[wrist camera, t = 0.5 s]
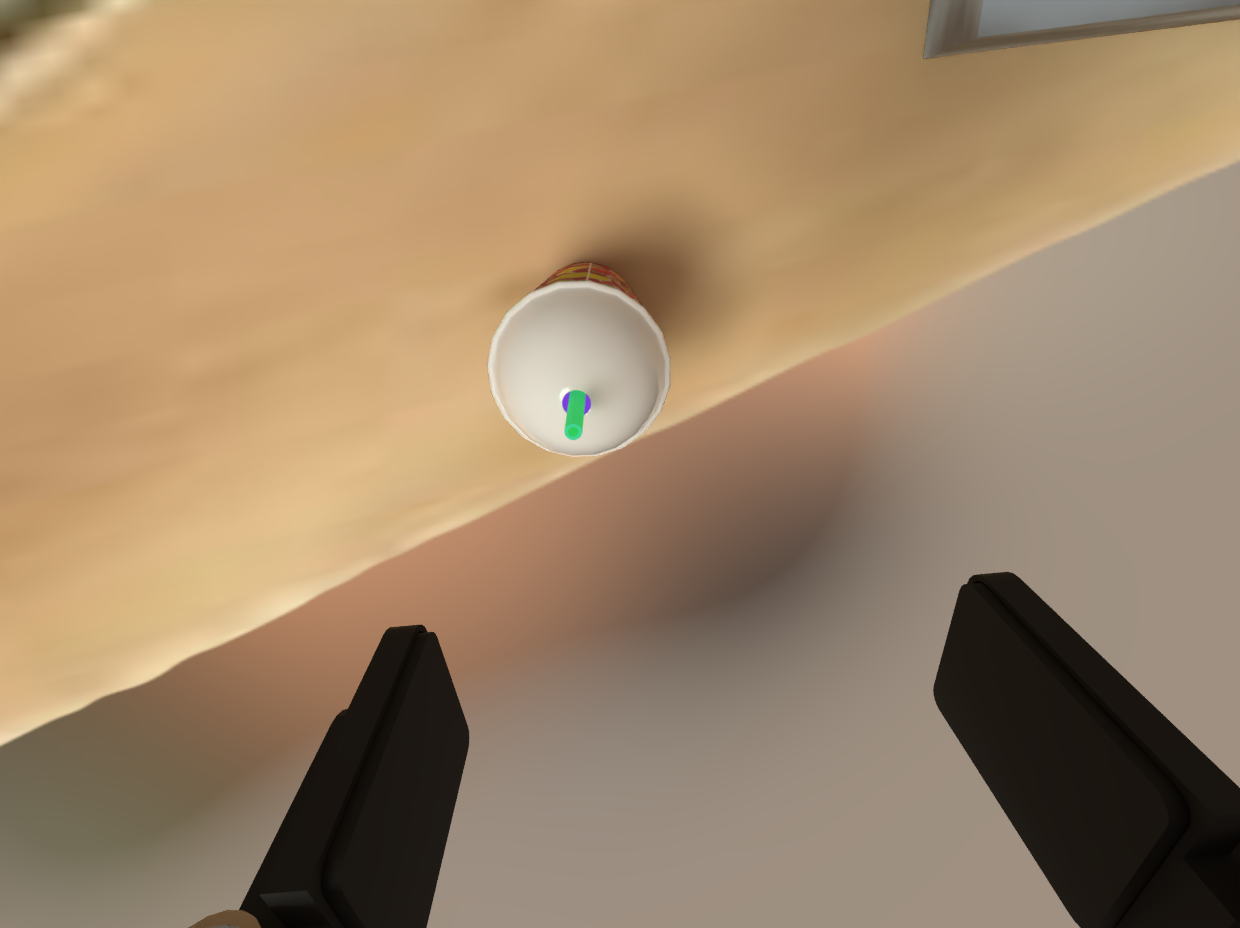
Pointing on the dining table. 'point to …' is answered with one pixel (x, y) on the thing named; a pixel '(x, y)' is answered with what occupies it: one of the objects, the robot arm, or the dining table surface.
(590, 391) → the smoothie
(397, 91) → the dining table surface
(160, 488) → the dining table surface
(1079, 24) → the lever switch panel
